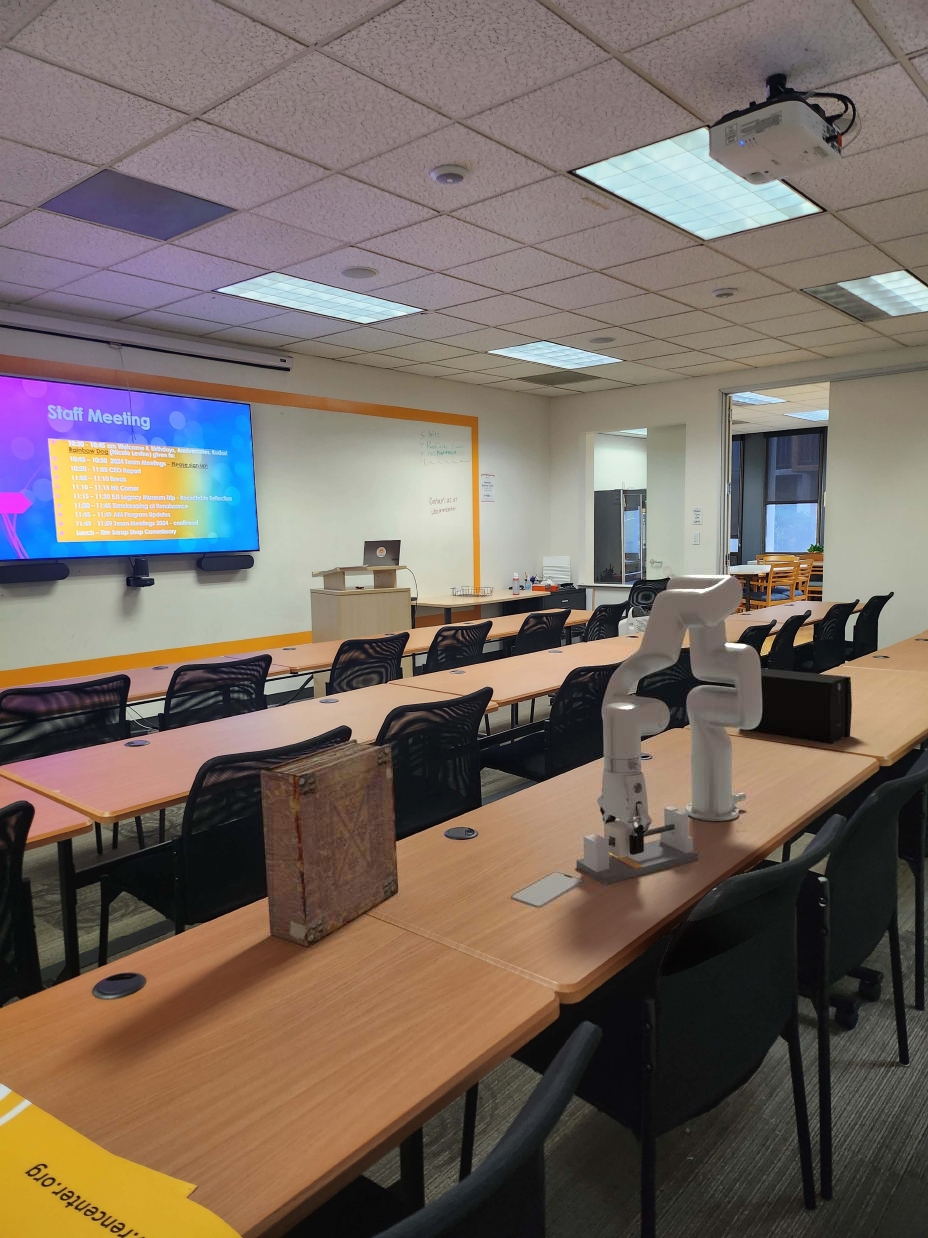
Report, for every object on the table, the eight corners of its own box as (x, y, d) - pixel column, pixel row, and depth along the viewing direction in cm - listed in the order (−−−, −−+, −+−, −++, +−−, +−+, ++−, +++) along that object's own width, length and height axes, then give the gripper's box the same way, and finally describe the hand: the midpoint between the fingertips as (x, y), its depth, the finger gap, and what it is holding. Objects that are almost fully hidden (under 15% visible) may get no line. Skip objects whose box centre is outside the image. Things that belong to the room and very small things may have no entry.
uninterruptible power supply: (829, 745, 258) (830, 683, 256) (733, 729, 283) (733, 673, 281) (851, 735, 268) (852, 676, 267) (757, 721, 294) (757, 667, 292)
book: (363, 883, 164) (356, 738, 161) (399, 892, 159) (392, 743, 156) (269, 936, 143) (259, 770, 140) (307, 948, 137) (298, 777, 135)
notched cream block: (628, 844, 170) (627, 818, 170) (643, 852, 166) (643, 825, 165) (605, 850, 168) (604, 823, 167) (620, 857, 163) (619, 831, 163)
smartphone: (508, 896, 154) (554, 871, 165) (508, 900, 155) (554, 874, 166) (539, 907, 149) (584, 880, 160) (539, 911, 150) (585, 883, 161)
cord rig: (666, 844, 178) (665, 802, 178) (698, 859, 170) (697, 815, 169) (576, 867, 168) (575, 823, 167) (605, 884, 159) (604, 837, 158)
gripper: (665, 770, 159) (666, 857, 161) (611, 752, 174) (612, 830, 176) (635, 776, 156) (636, 864, 157) (582, 757, 171) (584, 837, 173)
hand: (623, 846), depth 167 cm, fingers open, 7 cm apart
